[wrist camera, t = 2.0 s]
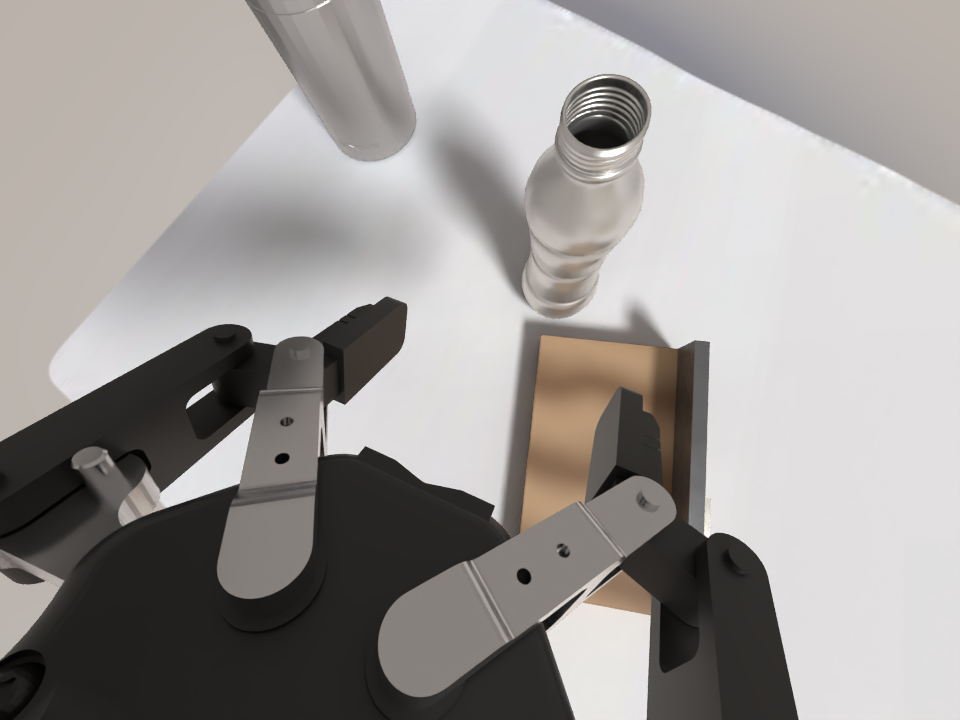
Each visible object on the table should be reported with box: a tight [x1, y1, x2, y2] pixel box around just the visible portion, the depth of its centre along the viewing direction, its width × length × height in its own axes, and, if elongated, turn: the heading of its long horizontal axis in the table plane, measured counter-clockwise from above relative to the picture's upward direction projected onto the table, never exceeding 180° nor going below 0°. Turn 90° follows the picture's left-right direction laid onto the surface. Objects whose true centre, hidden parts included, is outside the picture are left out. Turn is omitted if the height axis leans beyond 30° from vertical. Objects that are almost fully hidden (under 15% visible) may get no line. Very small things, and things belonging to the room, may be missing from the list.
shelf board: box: [519, 335, 678, 615], centre depth 30 cm, size 20×12×2 cm, turn 173°
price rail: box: [671, 340, 711, 538], centre depth 27 cm, size 20×2×3 cm, turn 173°
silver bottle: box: [522, 74, 651, 319], centre depth 25 cm, size 6×7×20 cm
